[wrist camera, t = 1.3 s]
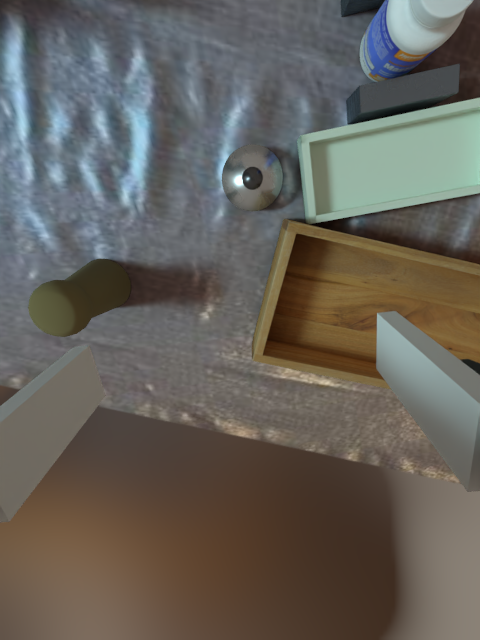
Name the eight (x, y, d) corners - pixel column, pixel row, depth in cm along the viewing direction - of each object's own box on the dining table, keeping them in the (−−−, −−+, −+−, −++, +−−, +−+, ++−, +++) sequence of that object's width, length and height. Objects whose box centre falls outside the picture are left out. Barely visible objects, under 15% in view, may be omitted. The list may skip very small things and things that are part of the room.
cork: (124, 255, 36) (73, 276, 26) (136, 305, 38) (93, 343, 28) (74, 261, 37) (4, 284, 26) (88, 310, 39) (29, 349, 28)
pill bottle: (366, 96, 30) (416, 50, 21) (350, 31, 28) (397, -50, 19) (425, 68, 29) (503, 7, 20) (411, -1, 27) (491, -102, 18)
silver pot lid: (218, 154, 32) (215, 149, 29) (276, 142, 32) (279, 136, 29) (229, 215, 34) (227, 216, 31) (284, 204, 34) (287, 205, 31)
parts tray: (297, 140, 32) (300, 135, 29) (488, 100, 30) (507, 91, 27) (305, 222, 34) (309, 224, 32) (481, 190, 32) (498, 189, 30)
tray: (545, 278, 36) (596, 291, 30) (481, 389, 41) (515, 417, 36) (283, 216, 35) (288, 219, 29) (251, 340, 40) (251, 361, 35)
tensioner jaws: (340, -12, 27) (353, -46, 24) (436, -37, 27) (466, -76, 23) (347, 123, 31) (360, 113, 27) (432, 106, 30) (458, 92, 26)
